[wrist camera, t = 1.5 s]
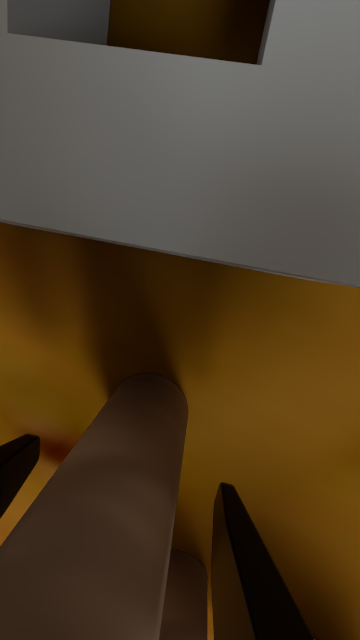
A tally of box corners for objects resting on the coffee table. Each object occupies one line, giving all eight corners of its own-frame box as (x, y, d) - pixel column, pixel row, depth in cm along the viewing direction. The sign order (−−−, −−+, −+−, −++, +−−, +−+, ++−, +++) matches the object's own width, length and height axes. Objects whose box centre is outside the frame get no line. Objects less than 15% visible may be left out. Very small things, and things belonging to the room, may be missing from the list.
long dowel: (195, 383, 10) (127, 1047, 2) (180, 450, 11) (83, 1112, 2) (117, 365, 10) (-325, 854, 2) (108, 432, 11) (-214, 975, 3)
